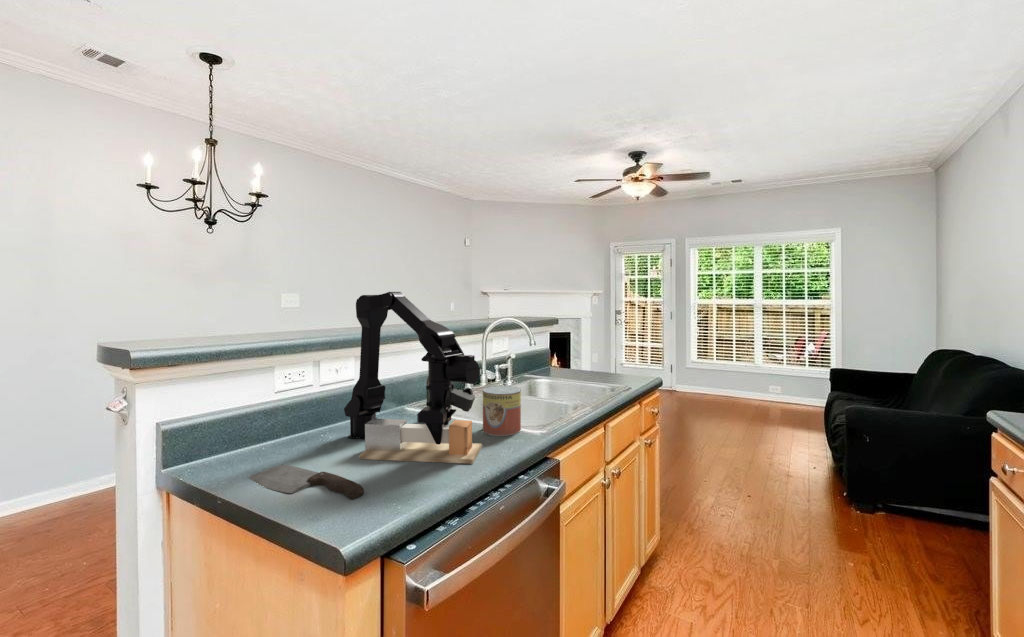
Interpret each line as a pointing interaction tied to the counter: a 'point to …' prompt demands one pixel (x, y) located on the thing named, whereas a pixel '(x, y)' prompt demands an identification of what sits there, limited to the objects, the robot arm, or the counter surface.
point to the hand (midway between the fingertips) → (440, 441)
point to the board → (424, 453)
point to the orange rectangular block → (460, 437)
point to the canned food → (501, 410)
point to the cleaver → (304, 480)
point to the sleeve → (384, 435)
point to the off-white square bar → (421, 433)
